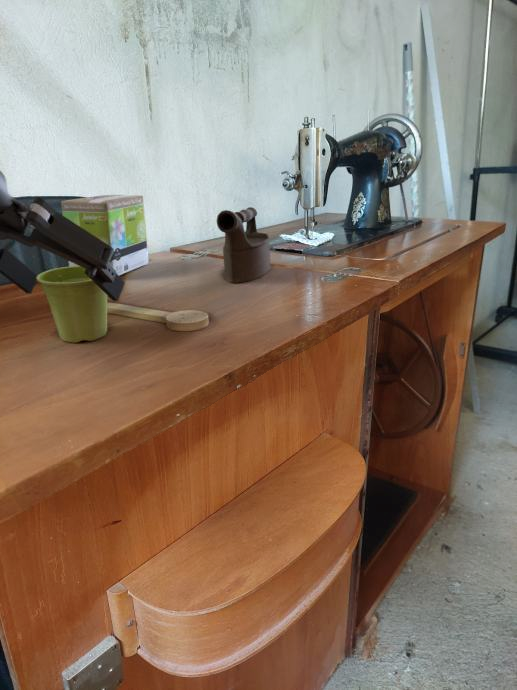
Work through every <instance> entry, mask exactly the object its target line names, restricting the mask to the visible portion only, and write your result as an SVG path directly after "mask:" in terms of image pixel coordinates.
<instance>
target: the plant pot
mask: <svg viewBox="0 0 517 690" xmlns="http://www.w3.org/2000/svg"><path fill="white" fill-rule="evenodd" d="M85 270H86V269H85V268H83V267H81V266H70V267H69V266H63V267H58V268H52V269H49V270H46V271H43V272H40V273H39V274H36V275H37V277H36V279H37V281H36V282H37V283H39V284H40V285H41V288H42V291H43V292H44V293H45V295H46V298H47V301H48V304H49V307H50V311H51V313H52V316H53V320H54V324H55V327H56V329H57V332H58V336H59V338H60V340H62V341H63V342H67V343H72V344H76V343H80V342H81V341H87V342H94V341H97V340H98V339H101V338H103V337H104V336H106V334H107V332H108V313H107V302H108V295H107V294H106V293H105V292H104V291H103V290H102V289H101V288H100V287H99V286H97V285H96V284H95V283H94V282H93V281H92V280H91V279H90V278H89V277H88V276H87V275H86V274H85Z"/></svg>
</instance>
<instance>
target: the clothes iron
mask: <svg viewBox="0 0 517 690" xmlns="http://www.w3.org/2000/svg"><path fill="white" fill-rule="evenodd" d="M257 215H258V211H257V209H256V208H254V207H251V206H249V207H247V208H245V209H241V210H240V211H235V212H233V211H231V210H228V209H225V210H224V209H223V210H222V211H220V212H219V213H218V214H217V217H216V225H217V228H218V229H219V231H220V232H222V233H224V245H223V247H222V255H223V269H224V272H223V273H224V280H225V281H227V282H228V283H231V284H238V283H245V282H248V281H252V280H256V279H258V278H260V277H262V276H264V275H266V274H267V273H268V272H269V271H270V270H271V250H270V249H271V248H270V247H271V246H270V235H269V234H268V233H264V232H258V229H257V220H256V217H257ZM244 223H246V224H245V226H246V227H245V226H244Z"/></svg>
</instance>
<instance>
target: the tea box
mask: <svg viewBox="0 0 517 690" xmlns="http://www.w3.org/2000/svg"><path fill="white" fill-rule="evenodd" d="M60 204H61V213H62V214H61V215H63V216H64V217H66V218H67V219H69V220H70V221H72V222H74V223H75V224H77V225H78V226H80V227H81V228H83V229H84V230H86V231H88V232H89V233H91V234H92V235H94V236H95V237H97V238H98V239H100V240H101V241H103V242H105V243H106V244H108V245H109V246H111V247H112V248H113V249H114V252H113V255H112V257H111V260H110V262H109V264H110V265H111V266H112V267H113V268H114V269H115V270H116V273H117V274H118V276H119V277H120V276H121V275H124V274H125V273H129V272H131V271H134V270H136V269H138V268H141V267H144V266H146V265H148V264H149V251H148V237H147V229H146V228H147V227H146V226H147V225H146V218H145V216H146V215H145V203H144V196H143V195H138V194H137V195H136V194H135V195H134V194H101V195H95V196H94V195H93V196H87V197H80V198H74V199H66V200H61V201H60ZM70 266H79V265H77V264H74V263H72V262H70V261H68V267H70Z"/></svg>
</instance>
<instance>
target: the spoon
mask: <svg viewBox="0 0 517 690" xmlns="http://www.w3.org/2000/svg"><path fill="white" fill-rule="evenodd" d="M107 314H111V315H117V316H122V317H127V318H133V319H140V320H144V321H145V320H146V321H149V322H150V321H151V322H157V323H162V324H165V325H166V328H167V329H168V330H172V331H175V332H192V331H198V330H201V329H204V328H206V327H208V325H209V324H210V322H209V321H210V320H209V313H207V312H206V311H204V310H198V309H197V310H195V309H187V310H178V311H174V312H172V311H167V310H159V309H154V308H147V307H142V306H141V307H140V306H135V305H129V304H124V303H123V304H122V303H116V302H112V301H111V302H110V301H107Z"/></svg>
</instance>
